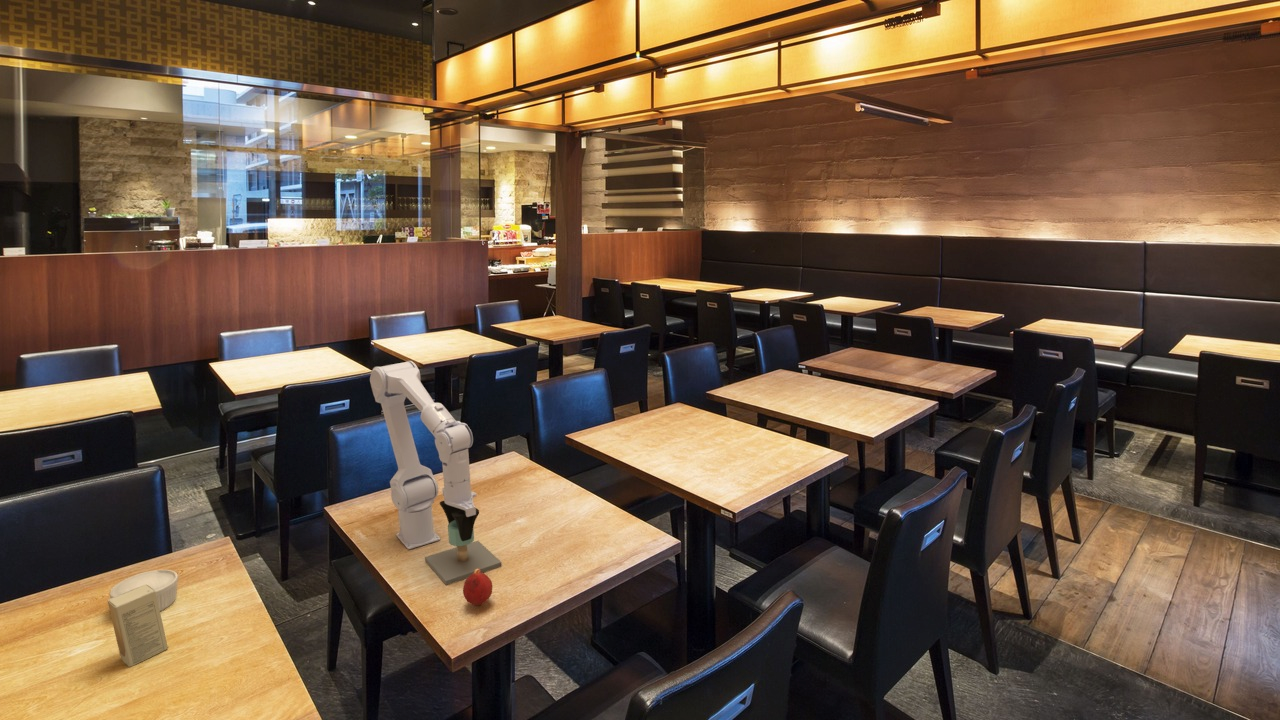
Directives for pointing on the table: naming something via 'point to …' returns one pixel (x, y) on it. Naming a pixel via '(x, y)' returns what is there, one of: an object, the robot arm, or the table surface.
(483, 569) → the grey board
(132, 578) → the ramekin
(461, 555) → the beech post
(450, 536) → the green ring
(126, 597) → the skincare box
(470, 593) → the onion
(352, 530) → the table surface
